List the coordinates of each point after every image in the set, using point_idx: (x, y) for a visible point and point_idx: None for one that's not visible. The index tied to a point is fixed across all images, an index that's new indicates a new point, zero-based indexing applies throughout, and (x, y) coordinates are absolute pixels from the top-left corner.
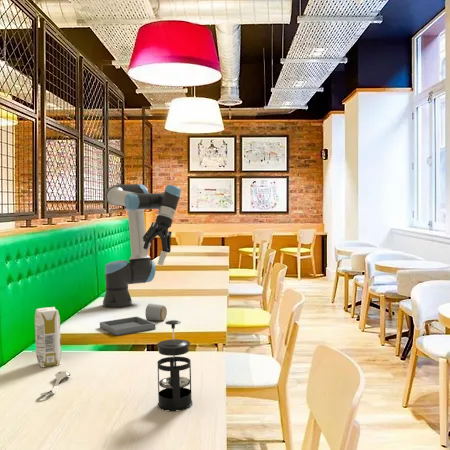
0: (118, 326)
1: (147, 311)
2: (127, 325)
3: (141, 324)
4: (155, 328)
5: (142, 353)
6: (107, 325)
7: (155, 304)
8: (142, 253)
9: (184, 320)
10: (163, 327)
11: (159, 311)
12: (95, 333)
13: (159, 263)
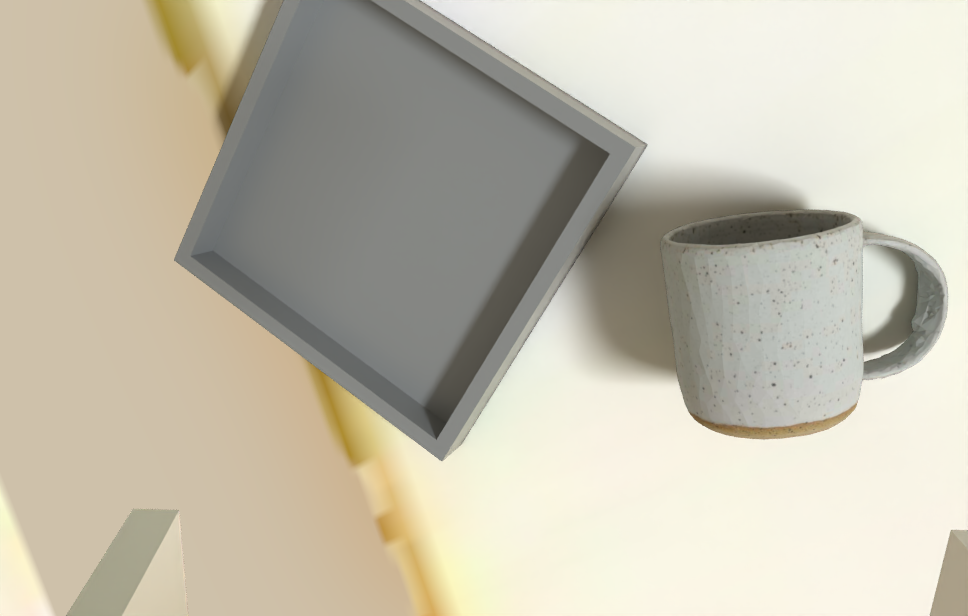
0: (387, 114)
1: (663, 263)
2: (444, 171)
3: (515, 275)
4: (459, 445)
5: (17, 588)
6: (246, 99)
7: (754, 333)
8: (110, 567)
9: (849, 574)
10: (535, 482)
11: (686, 401)
12: (196, 47)
13: (952, 598)
